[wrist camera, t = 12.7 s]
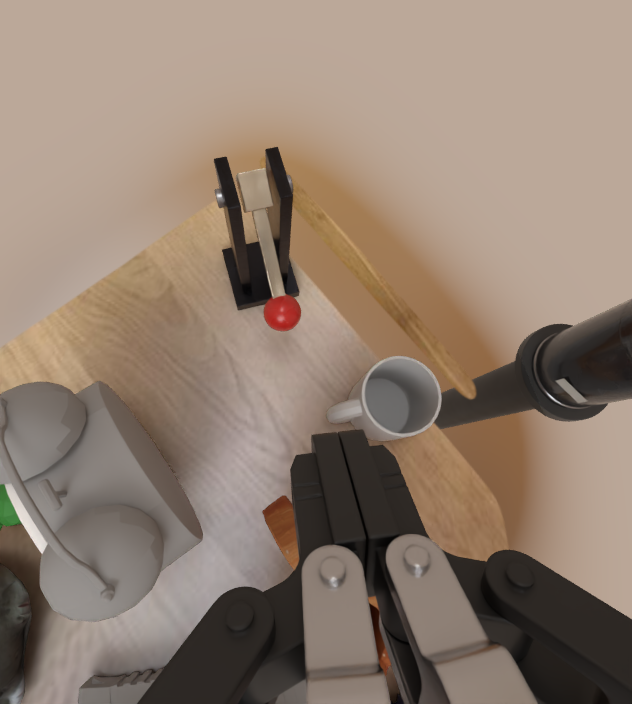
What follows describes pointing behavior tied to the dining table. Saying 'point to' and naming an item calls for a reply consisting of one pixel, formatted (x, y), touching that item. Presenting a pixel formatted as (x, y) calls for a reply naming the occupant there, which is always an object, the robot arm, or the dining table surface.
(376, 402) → the cup
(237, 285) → the switch bracket
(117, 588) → the alarm clock
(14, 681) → the lucky cat figurine
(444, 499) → the dining table surface
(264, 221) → the power lever
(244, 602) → the robot arm
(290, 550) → the mug
